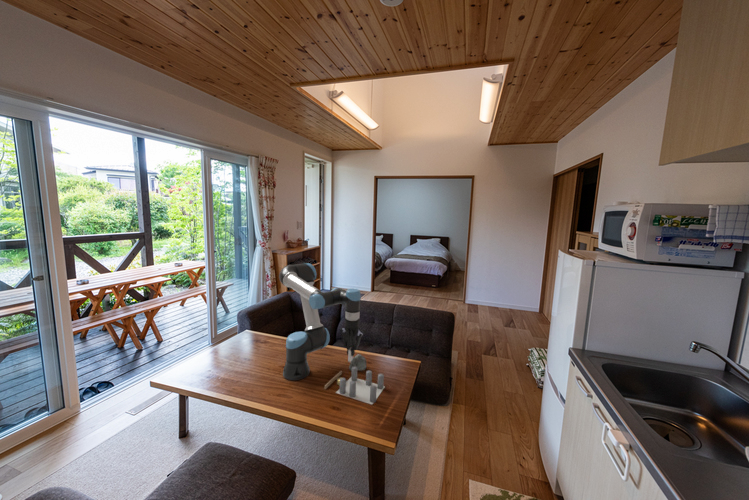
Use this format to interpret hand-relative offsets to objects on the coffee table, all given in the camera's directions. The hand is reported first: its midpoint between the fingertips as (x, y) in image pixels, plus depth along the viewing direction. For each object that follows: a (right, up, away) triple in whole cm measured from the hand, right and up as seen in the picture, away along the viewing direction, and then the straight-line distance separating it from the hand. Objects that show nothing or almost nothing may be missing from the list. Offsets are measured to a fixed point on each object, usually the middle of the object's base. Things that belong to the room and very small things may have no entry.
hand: (350, 360), depth 153 cm
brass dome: (-6, -14, +4) cm, 15 cm away
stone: (+3, -14, +21) cm, 25 cm away
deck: (+2, -16, 0) cm, 16 cm away
